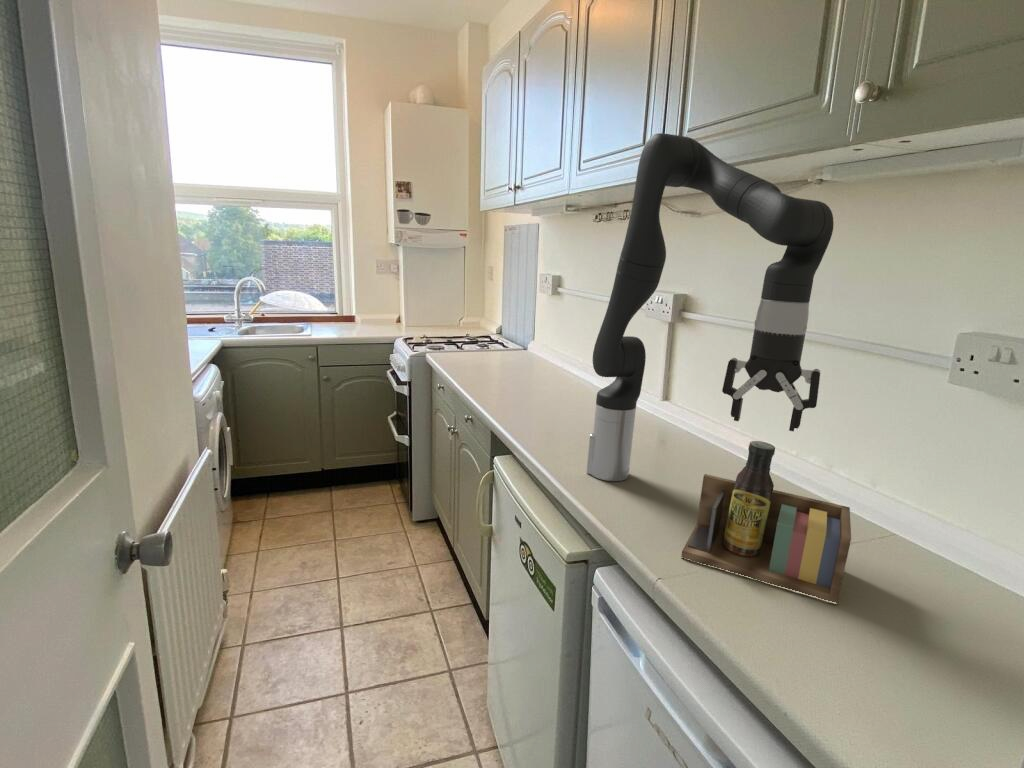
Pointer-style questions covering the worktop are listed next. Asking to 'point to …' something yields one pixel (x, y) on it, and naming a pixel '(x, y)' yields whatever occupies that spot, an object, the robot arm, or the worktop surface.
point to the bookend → (707, 536)
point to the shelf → (767, 539)
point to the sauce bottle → (750, 502)
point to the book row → (805, 545)
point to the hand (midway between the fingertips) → (763, 424)
